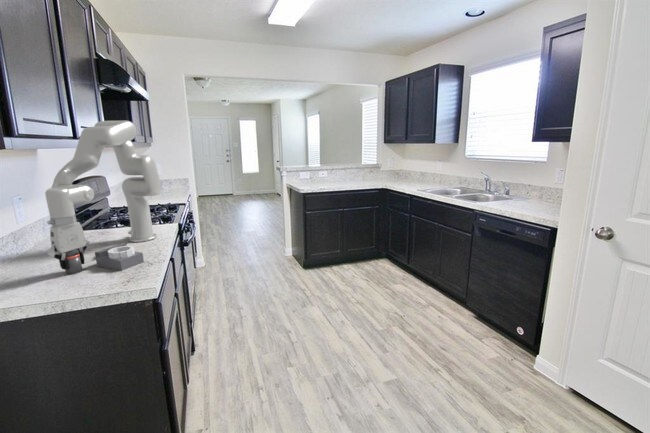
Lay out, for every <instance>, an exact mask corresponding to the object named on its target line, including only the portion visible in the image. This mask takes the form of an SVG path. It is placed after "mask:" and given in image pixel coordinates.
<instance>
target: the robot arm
mask: <svg viewBox="0 0 650 433" xmlns="http://www.w3.org/2000/svg"><path fill="white" fill-rule="evenodd" d="M136 136H137V127H136V125H135V124H134V123H133V122H132V121H130V120H101V121H97V122H96V123H95V124H94V126H88V127H85V128H83V129H82V131H81V132H80V136H79V140H78V142H77V145H76V148H75V152H74V155H73V157H72V159H70V160H69V161H68V162H67V163H66V164H64V165H63V166H62V167H61V169H59V171H58V172H57V173H56V175H55V177H54V179H53V182H52V185H51V188H49V189H46V190H45V200H46V204H47V208H48V214H49V220H47V224H48V225H51V226H50V229H49V230H50V231H49V238H50V245H51V246H50V248H49V250H48V251H47V255H48V256H50V257H53V258H55V259H56V260H58V262H59V266H60V268H61V269H62V270H65V271H66V270H68V269H69V267H68V262H67V259H65V255H66V252H69V251H72V250H75V249H79V254H80V259H81V264H82V265H84V264H85V255H84V254H85V253H86V250H87V248H88V247H89V245H90V244H91V242H90V241H89V240H87V238H86V236H85V232H84V230H83V227H82V225H81V223H80V222H79V221H77V217H76V211H75V205H76V206H77V205H84V204H85V205H87V204H88V203H90V202H92V200H93V199H94V198H95V192H94V189H93V188H92V187H91V186H89V185H86V184H73V183H74V182H75V180H76V179H77V178H78V177H79V176H82V175H83V174H85V173H87V172H91V170H94V169H95V168H97V167H98V166H99V162H100V160H101V156H102V153H103V149H104V148H112V149H113V151H114V155H115V157H116V160H117V163H118V166H119V169H120V172H121V173H122V174H123V175H125V176H131V177H127V178H125V179H124V180H123V181H122V183H121V190H122V192H123V194H124V198H125V201H126V205H127V211H128V218H129V222H130V223H129V224H130V225H129V226H130V230H129V231H128V232H127V234H128V235H130V237H129V242H133V243H141V242H147V241H153V240H155V239H156V238H157V237H158V235H157V233H155V232H154V229H153V223H152V217H151V216H152V215H151V210H150V202H148V200H147V198H146V197H156V196H158V195H159V194H161V191H162V184H161V180H160V177H159V176H160V175H159V172H158V168H157V165H156V162H155V160H154V159H153V158H152V157H151V156H149V155H145V154H144V155H143V154H142V155H139V154H137V152H136V148H135V144H133V142H132V141H133V140H134V139H135V138H136Z"/></svg>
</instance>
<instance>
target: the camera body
mask: <svg viewBox="0 0 650 433" xmlns="http://www.w3.org/2000/svg"><path fill="white" fill-rule="evenodd" d="M94 255H95V261H96V266H97V267H99V268H105V269H111V270H116V271H124V270H127V269H129V268H132V267H134V266H136V265H139V264H141V263H144V262H145V259H144V255H143V252H142V251H140V252H139V251H136V250H135V247H134V245H127V246H122V245H120V244H116V245H112V246H110V247H106V248H104V249H103V248H102V249H100V250H98V251H95V252H94Z"/></svg>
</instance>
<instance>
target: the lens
mask: <svg viewBox="0 0 650 433" xmlns="http://www.w3.org/2000/svg"><path fill="white" fill-rule="evenodd" d="M65 259H67V262H68V267H69V269H68V270H65V273H66V275H70V276H71V275H76V274H79V273H81V272H83V271H84V269H83V266H82V265H83V264H81V259H80V254H79V249H75V250H72V251H69V252H66V255H65Z"/></svg>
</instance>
